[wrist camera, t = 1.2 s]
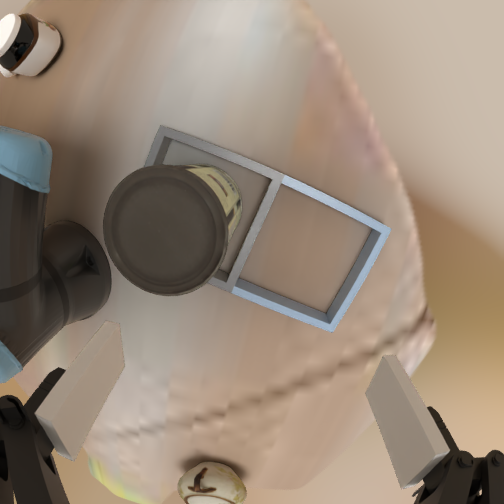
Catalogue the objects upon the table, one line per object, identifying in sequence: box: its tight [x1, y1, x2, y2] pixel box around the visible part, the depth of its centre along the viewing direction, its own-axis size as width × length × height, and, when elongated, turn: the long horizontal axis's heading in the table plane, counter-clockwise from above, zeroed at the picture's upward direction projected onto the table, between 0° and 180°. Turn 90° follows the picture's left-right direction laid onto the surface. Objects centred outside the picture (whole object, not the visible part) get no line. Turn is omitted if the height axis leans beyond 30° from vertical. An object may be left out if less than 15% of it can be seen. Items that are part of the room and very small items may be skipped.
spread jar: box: [0, 13, 62, 77], centre depth 22 cm, size 12×11×12 cm
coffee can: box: [103, 164, 242, 296], centre depth 28 cm, size 10×10×14 cm
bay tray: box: [144, 125, 391, 333], centre depth 34 cm, size 29×15×3 cm, turn 66°
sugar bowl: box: [178, 462, 247, 504], centre depth 44 cm, size 20×15×15 cm
